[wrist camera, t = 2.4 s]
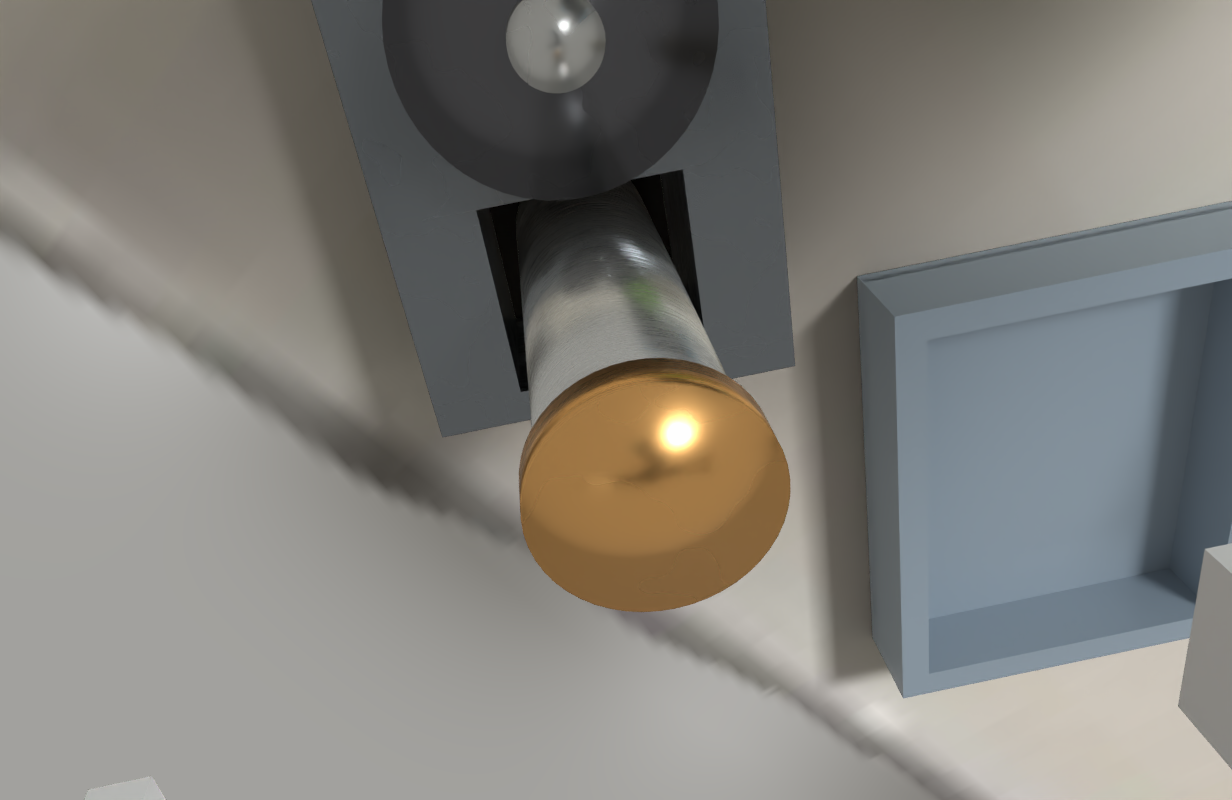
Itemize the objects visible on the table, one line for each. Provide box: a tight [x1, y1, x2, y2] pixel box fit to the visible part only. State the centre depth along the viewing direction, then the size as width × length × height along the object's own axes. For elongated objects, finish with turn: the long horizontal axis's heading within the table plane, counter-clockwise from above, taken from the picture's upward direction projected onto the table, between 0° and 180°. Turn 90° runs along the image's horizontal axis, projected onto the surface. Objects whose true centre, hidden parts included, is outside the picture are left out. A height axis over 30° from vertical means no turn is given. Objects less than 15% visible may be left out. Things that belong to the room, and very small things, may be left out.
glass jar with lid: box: [516, 181, 790, 612], centre depth 23 cm, size 5×5×15 cm
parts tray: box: [857, 201, 1232, 698], centre depth 34 cm, size 16×13×3 cm
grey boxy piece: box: [311, 0, 795, 437], centre depth 24 cm, size 14×10×8 cm
